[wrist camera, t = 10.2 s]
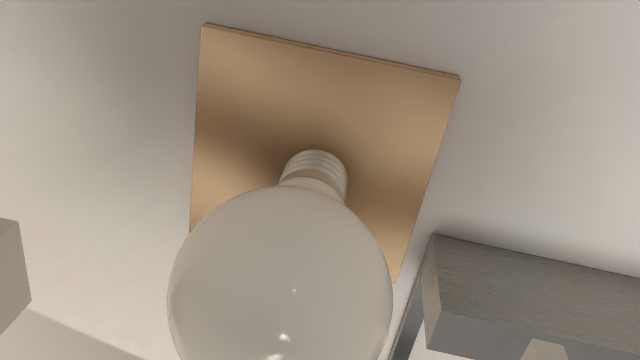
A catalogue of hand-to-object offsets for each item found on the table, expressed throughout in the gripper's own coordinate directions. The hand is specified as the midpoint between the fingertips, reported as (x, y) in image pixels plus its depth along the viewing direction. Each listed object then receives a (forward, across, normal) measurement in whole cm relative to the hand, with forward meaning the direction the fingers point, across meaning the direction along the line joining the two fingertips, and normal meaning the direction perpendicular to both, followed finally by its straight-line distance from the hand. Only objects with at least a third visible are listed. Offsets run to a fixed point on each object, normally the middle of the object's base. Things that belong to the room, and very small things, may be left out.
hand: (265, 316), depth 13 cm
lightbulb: (+9, 0, -1) cm, 10 cm away
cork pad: (+10, 0, -1) cm, 10 cm away
